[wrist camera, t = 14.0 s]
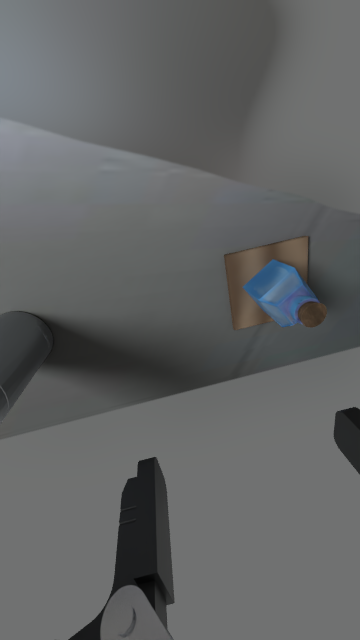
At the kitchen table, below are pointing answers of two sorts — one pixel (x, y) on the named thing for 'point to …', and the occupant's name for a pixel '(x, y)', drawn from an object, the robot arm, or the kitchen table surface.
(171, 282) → the kitchen table surface
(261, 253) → the walnut board
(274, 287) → the perfume bottle
